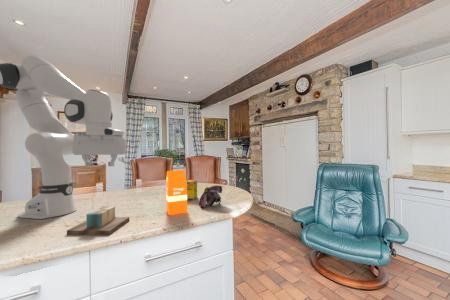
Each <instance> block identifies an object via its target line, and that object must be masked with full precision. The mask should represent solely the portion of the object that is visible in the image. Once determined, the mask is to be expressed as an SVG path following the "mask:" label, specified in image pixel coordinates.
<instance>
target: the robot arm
mask: <svg viewBox="0 0 450 300" xmlns="http://www.w3.org/2000/svg"><path fill="white" fill-rule="evenodd" d="M0 86H1V87H3V88H6V89H10V90H11V89H12V90H15V89H17V90H16V92H15V99H16V101H17V105H18V106H19V109H20V111H21V113H22V115H23V117H24V119H25V120H26V122H27V124H28V126H29V127H30V128H31V129H32V130H34V131H36V132H33V133H30V134H29V135H28V136H27V137H26V138H25V140H24V146H25V149H26V151H27V152H28V153H30V155H32V156H34V157H35V159H36V160H37V161H38V164H39V166H40V169H41V177H42V178H41V179H42V180H41V181H42V185H41V186H40V185H39V186H37V187H36V190H37V191H38V190H39V191H38V193H37V194H36V195H35V196H34V197H32V198H31V199H30V200H28V201H27V202H26V203H25V206H24V211H23V212H20V213H18V214H17V218H22V219H24V218H25V219H34V220H35V219H36V220H44V219H48V218H52V217H53V218H54V217H59V216H63V215H67V214H68V215H69V214H71V213H74V212H76V211H77V206H76V204H75V200H74V195H73V192H74V185H73V184H74V183H73V181H72V178H73V177H72V176H73V175H72V167H71V165H70V164H68V163H67V162H66V160H65V159H64V156H69V155H72V154H73V155H75V156H81V158H82V160H83V162H84V166H85V167H92V166H93V165H92V164H93V163H92V161H90V159H89V158H90V156H91V155H92V156H93V155H94V156H95V155H96V156H98V155H99V156H100V155H101V156H102V155H105V156H106V155H108V156H109V155H110V158H111V159H110V161H108V163H107V164H108V167H115V161H116V160H117V159H118V156H119V155H125V154H126V153H127V141H126V139H125V137H124V136H125V131H124V130H122V129H118V128H115V127H113V126H112V121H113V112H112V101H111V97H110V95H109V94H108V93H107V92H104V91H101V90H97V89H87V90H86V91H85V90H84V89H83V88H81V87H79V86H78V85H77V84H75V83H74V81H72V80H71V79H69V78H68V77H67V76H65V75H64V74H63V73H62V72H61V71H59V69H58V68H56V66H54V65H53V64H52V63H51V62H49V61H48V60H47V59H45V58H43V57H41V56H38V55H27V56H25V57H23V59H22V60H21V62H20V63H12V62H5V63H0ZM45 94H47V95H52V96H55V97H59V98H63V99H65V100H68V101H67V102H66V104H65V106H64V108H63V109H64V111H63V112H64V116H65V118H66V119H67V120H68V121H69V122H70V123H74V124H80V125H85V131H77V132H76V133H75V134H74V133H72V132H71V131H70V130H69V129H68V128H67V127H66V126H65V125H64V124H63V123H62V122H61V120H60V119H59V118H58V117H57V115H56V113H55V111H54V110H53V108H52V106H51V105H50V102H49V101H48V100H47V98H46V97H45V96H46V95H45Z"/></svg>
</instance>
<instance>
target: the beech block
mask: <svg viewBox="0 0 450 300" xmlns="http://www.w3.org/2000/svg"><path fill="white" fill-rule="evenodd" d="M85 217H86V221H87V228H100V227H102V226H103V225H105V224H106V223H108V222H110V221H111V220H113V219H115V217H116V206H101V207H99V208H98V209H95V210H93V211H90V212H89V213H87V214H86V216H85Z"/></svg>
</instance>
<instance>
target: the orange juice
mask: <svg viewBox="0 0 450 300" xmlns="http://www.w3.org/2000/svg"><path fill="white" fill-rule="evenodd" d="M187 181H188V180H187V176H186V170H185V169H178V170H176V169H175V170H167V171H166V178H165V196H166V197H165V198H166V199H165V201H166V207H165V208H166V213H167V214H168V216H172V215H173V216H174V215H178V214H186V213H188V200H187Z"/></svg>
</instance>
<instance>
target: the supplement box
mask: <svg viewBox="0 0 450 300" xmlns="http://www.w3.org/2000/svg"><path fill="white" fill-rule="evenodd" d="M186 181H187V201H196V199H197V198H198V180H197V179H188V180H186Z"/></svg>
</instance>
